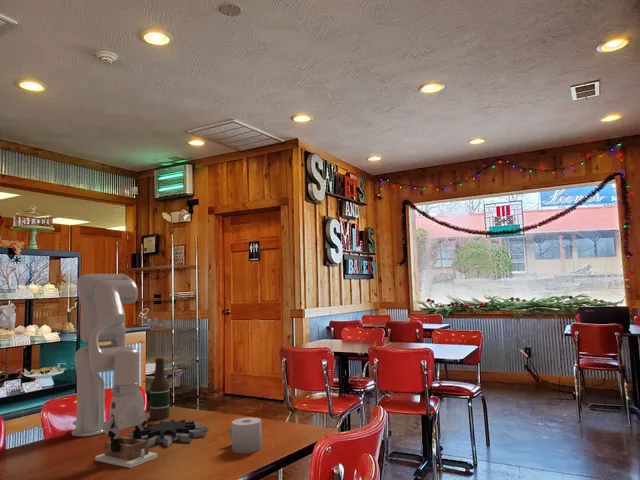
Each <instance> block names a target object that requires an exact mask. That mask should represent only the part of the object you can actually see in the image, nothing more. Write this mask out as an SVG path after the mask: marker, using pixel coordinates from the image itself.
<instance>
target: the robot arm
mask: <svg viewBox="0 0 640 480" xmlns="http://www.w3.org/2000/svg"><path fill="white" fill-rule="evenodd" d="M76 293H77V296H78V299H79V302H80V309H81V310H80V327H79V329H80V331H79V332H80V333H79V335H80V340H81V341H82V342H83V343H87V346H84V347H83V346H82V347H81V348H79V349H77V351H76V352H75V355H74V366H75V371H76V372H75V373H76V419H75V420H73V421H72V425H74V426H75V428H73V430H72V431H71V436H74V437H82V438H83V437H92V436H96V435H101V434H104V433H105V435H106V436H107V437H108V438H109V439H110V440H111V451H112V452H119V451H120V439H119V437H120V436H119V435H120V434H121V431H123V430H126V429H130V428H133V430H134V431H133V430H132V431H133V438H136V439H141V440H142V431H143V429H144V428H143V427H146V426H145V425H147V424H146V423H147V422H148V419H149V418H150V414H149V413H147V412H145V403H144V396H143V393H142V391H141V390H140V351H139V350H138V349H137V348H135V347H133V346H130V345H127V346H126V329H127V328H126V323H125V321H126V313H125V309H124V308H125V307H124V304H134V303H135V302H136V301H137V300H138V298H139V297H138V296H139V290H138V285H137V284H136V282H135V280H133V279H132V277H129V276H128V275H126V274H125V273H89V274H83V275H81V276H79V278H78V279H77V281H76ZM106 342H107V343H108V342H110V343H111V344H110V343H109V344H100V343H106ZM107 372H113V388H111V390H110V392H111V393H112V394H113V395H112V396H111V399H110V400H111V401H110V406H109V415H108V418H109V419H107V421H106V422H105V404H106V403H105V402H106V401H105V399H106V398H105V393H106V391H105V389H106V388H105V384H106V383H105V380H104V378H103V377H101V375H100V374H99V373H107Z"/></svg>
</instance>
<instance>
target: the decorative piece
mask: <svg viewBox="0 0 640 480" xmlns="http://www.w3.org/2000/svg"><path fill="white" fill-rule="evenodd" d="M146 425H147V426H144V427H143V428H144V429H143V431H142V440H147V441H148V449H149V448H153V447H154V446H155V447H156V445H158V444H163V446H165V447H166V448H169V447H170V446H171V445H172V444H173V443H176V442H180V443H183V444H184V443H187V444H189V443H191V442H192V441H193V440H192V439H199V438H204V437H205V436H207V435H208V434H207V433H206V432H208V431H209V430H210V429H211V428H210V427H208V426H205V425H203V424H202V423H200V422H198V421H197V422H195V421H193V420H192V421H187V419H186V418H185V419H181V420H178V421H175V419H174V418H173V419H170V421H164V420H160V421H159V423H147V424H146ZM134 430H135V429H133V430H132V431H130V432H129V434H128V435H126V436H125V437H130V438H133V431H134Z"/></svg>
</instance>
